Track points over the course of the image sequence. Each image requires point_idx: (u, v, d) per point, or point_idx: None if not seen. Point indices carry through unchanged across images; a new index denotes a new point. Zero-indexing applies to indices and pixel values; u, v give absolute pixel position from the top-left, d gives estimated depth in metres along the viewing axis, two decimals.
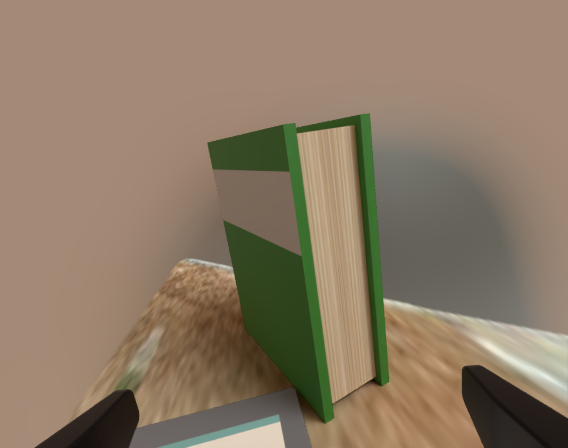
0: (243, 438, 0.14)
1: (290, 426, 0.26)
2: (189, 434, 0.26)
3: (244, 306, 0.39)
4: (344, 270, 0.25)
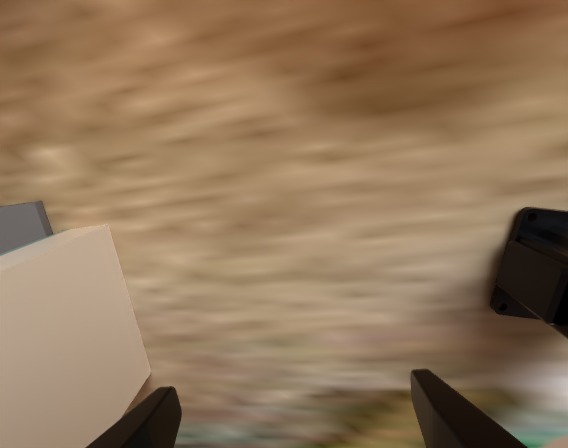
0: None
1: None
2: None
3: None
4: None
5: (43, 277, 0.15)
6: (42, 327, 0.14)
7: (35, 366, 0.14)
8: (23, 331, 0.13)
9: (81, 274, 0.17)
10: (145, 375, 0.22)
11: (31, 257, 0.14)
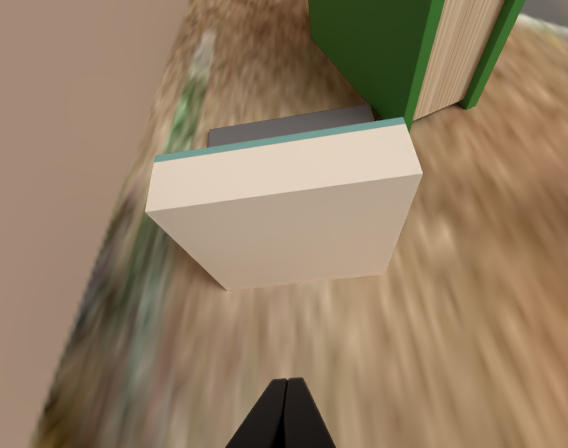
0: (365, 135, 0.13)
1: None
2: (266, 137, 0.28)
3: (314, 5, 0.31)
4: None
5: (377, 241, 0.17)
6: (337, 238, 0.16)
7: (310, 233, 0.15)
8: (345, 229, 0.15)
9: (358, 258, 0.19)
10: (228, 287, 0.22)
11: None
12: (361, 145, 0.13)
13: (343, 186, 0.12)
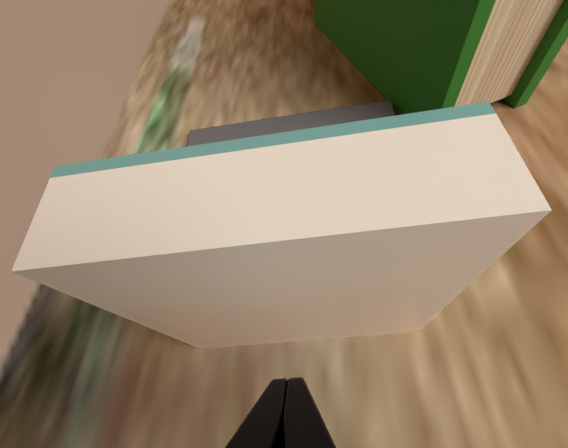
0: (422, 134, 0.07)
1: None
2: None
3: None
4: None
5: (421, 301, 0.11)
6: (360, 299, 0.10)
7: (318, 294, 0.09)
8: (375, 289, 0.09)
9: (386, 318, 0.13)
10: (200, 346, 0.16)
11: None
12: (416, 152, 0.07)
13: (386, 231, 0.06)
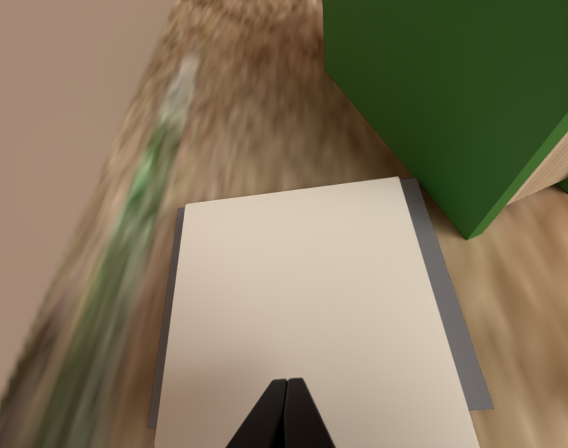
0: None
1: None
2: None
3: (332, 29, 0.22)
4: None
5: (403, 286, 0.13)
6: (348, 271, 0.13)
7: (315, 255, 0.14)
8: (354, 252, 0.14)
9: (393, 345, 0.12)
10: (163, 438, 0.11)
11: (428, 282, 0.13)
12: None
13: (338, 185, 0.16)
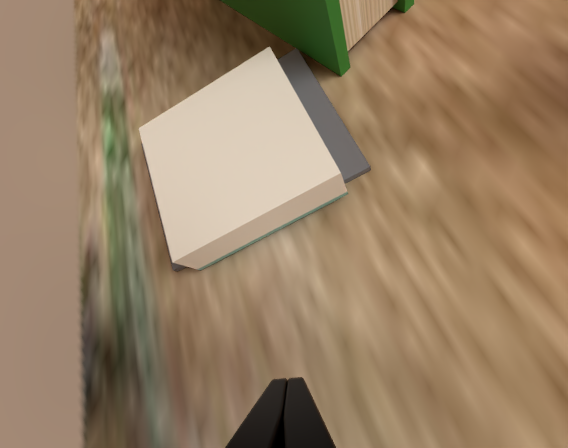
0: None
1: (303, 91, 0.23)
2: None
3: None
4: None
5: (285, 112, 0.19)
6: (251, 119, 0.20)
7: (229, 119, 0.20)
8: (252, 106, 0.20)
9: (286, 145, 0.18)
10: (174, 249, 0.19)
11: (300, 102, 0.19)
12: None
13: (232, 70, 0.22)
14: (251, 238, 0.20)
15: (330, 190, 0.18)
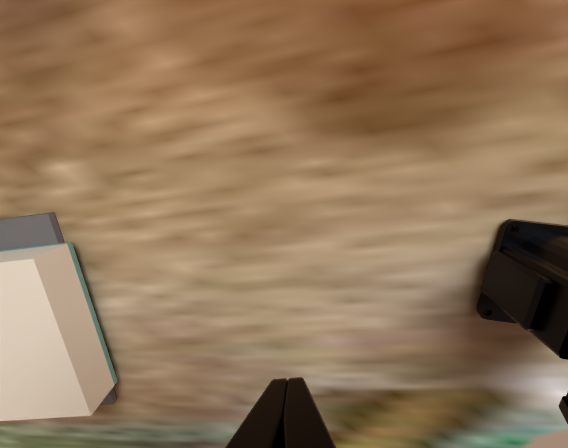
0: None
1: None
2: None
3: None
4: None
5: None
6: None
7: None
8: None
9: None
10: (79, 412, 0.20)
11: None
12: None
13: None
14: (93, 336, 0.21)
15: (56, 264, 0.19)
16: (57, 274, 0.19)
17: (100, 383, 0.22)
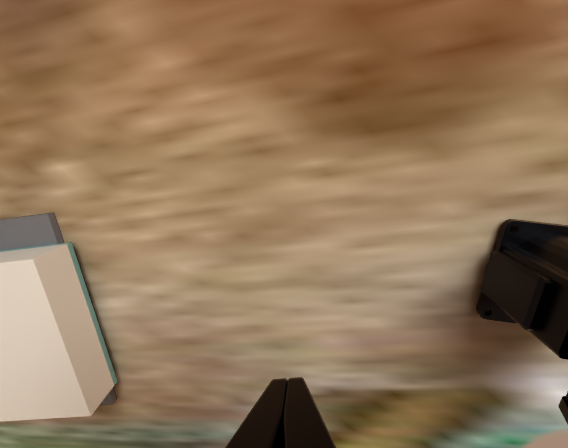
0: None
1: None
2: None
3: None
4: None
5: None
6: None
7: None
8: None
9: None
10: (79, 412, 0.20)
11: None
12: None
13: None
14: (93, 336, 0.21)
15: (56, 264, 0.19)
16: (57, 274, 0.19)
17: (100, 383, 0.22)
